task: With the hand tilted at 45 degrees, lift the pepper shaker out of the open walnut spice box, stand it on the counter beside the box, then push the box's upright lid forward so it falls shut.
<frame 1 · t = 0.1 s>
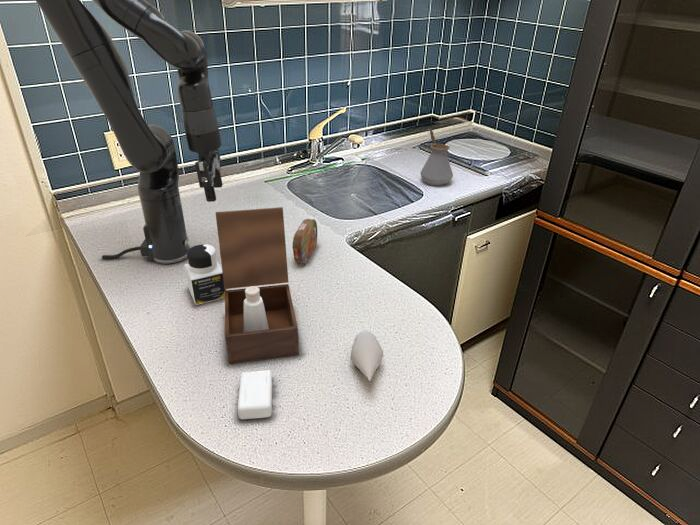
hand: (215, 193, 121), 17 cm above the countertop, tool pointing down, fingers open, 8 cm apart
tin: (305, 255, 130), on the countertop
pepper shaker: (256, 334, 101), point 1 cm above the countertop
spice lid: (253, 248, 102), point 15 cm above the countertop, hinge at 105.0°
spice box: (261, 334, 102), on the countertop
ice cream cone: (367, 370, 93), on the countertop
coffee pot: (432, 177, 181), on the countertop
medicine bottle: (207, 294, 114), on the countertop
soap: (256, 400, 86), on the countertop
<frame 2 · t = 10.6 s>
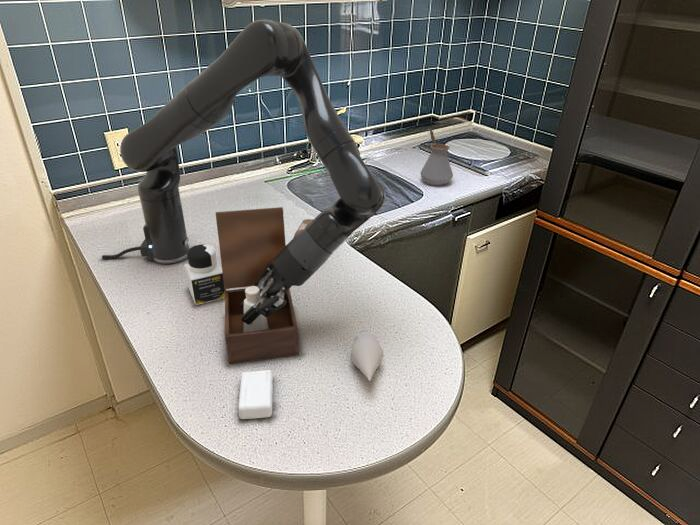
hand: (244, 314, 98), 6 cm above the countertop, tool tilted 45°, fingers closed on pepper shaker, 4 cm apart
pepper shaker: (256, 334, 101), point 1 cm above the countertop, touching gripper, spice box
everything else where it was.
when the fingers open (5 cm above the countertop, at t = 19.0 s): pepper shaker stays where it is, on the countertop.
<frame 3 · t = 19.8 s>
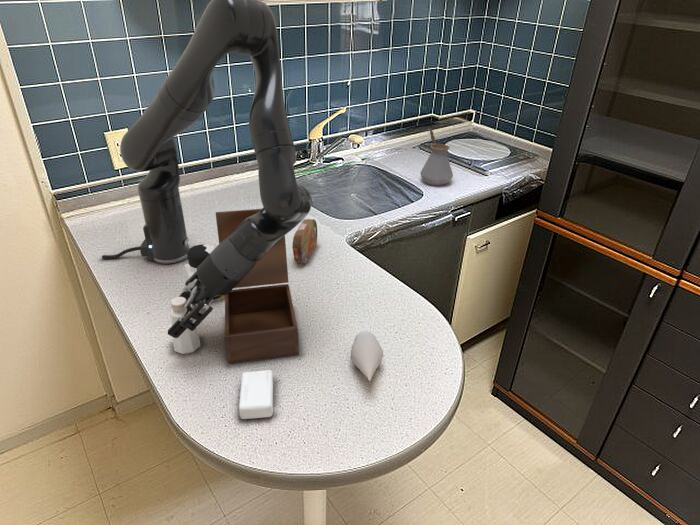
hand: (173, 321, 95), 6 cm above the countertop, tool tilted 45°, fingers open, 8 cm apart
pepper shaker: (187, 346, 98), on the countertop
everything else where it was.
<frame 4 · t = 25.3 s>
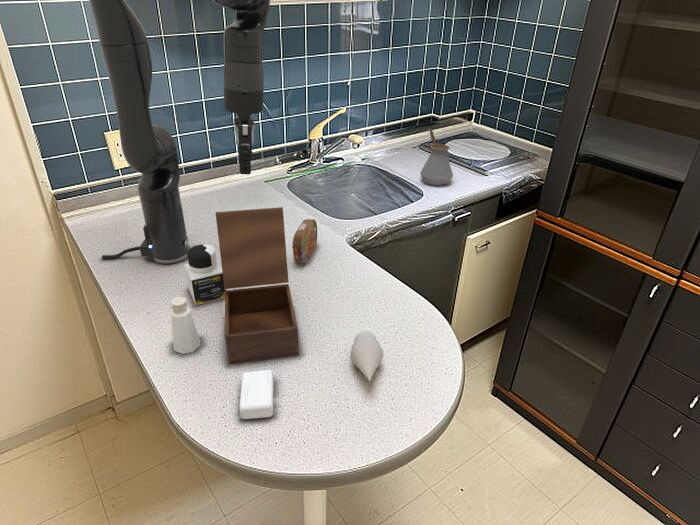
hand: (244, 166, 103), 29 cm above the countertop, tool pointing down, fingers open, 8 cm apart
nothing on the countertop moved.
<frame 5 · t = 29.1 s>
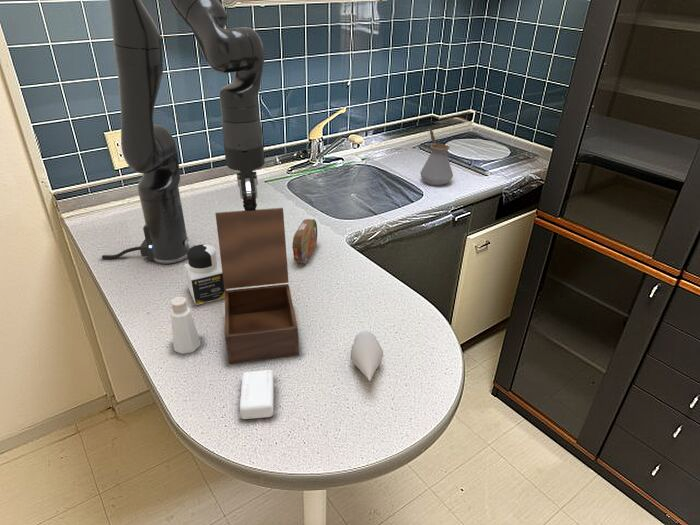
hand: (251, 222, 104), 19 cm above the countertop, tool pointing down, fingers closed
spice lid: (253, 248, 102), point 15 cm above the countertop, hinge at 102.7°
everything else where it was.
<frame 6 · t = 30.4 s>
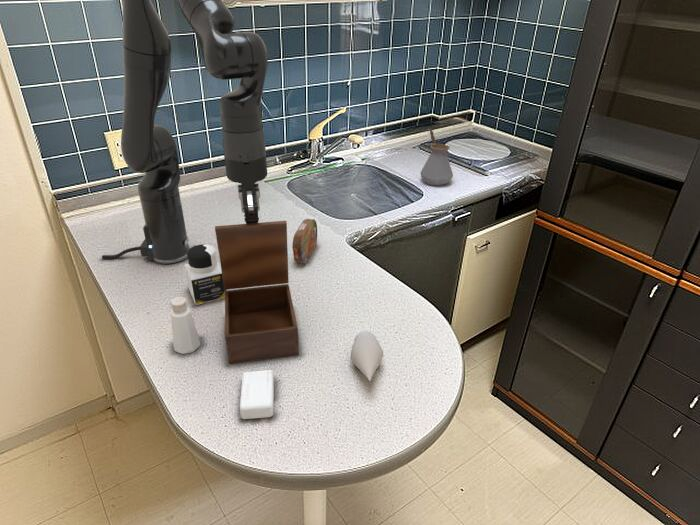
hand: (253, 236, 99), 19 cm above the countertop, tool pointing down, fingers closed
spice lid: (254, 256, 99), point 15 cm above the countertop, hinge at 79.0°
everything else where it was.
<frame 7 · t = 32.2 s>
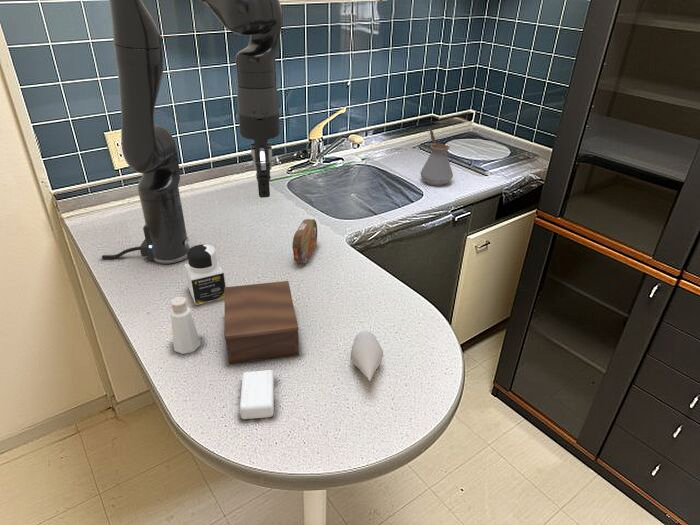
hand: (264, 196, 101), 25 cm above the countertop, tool pointing down, fingers closed
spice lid: (259, 307, 98), point 7 cm above the countertop, hinge at -0.1°
everything else where it was.
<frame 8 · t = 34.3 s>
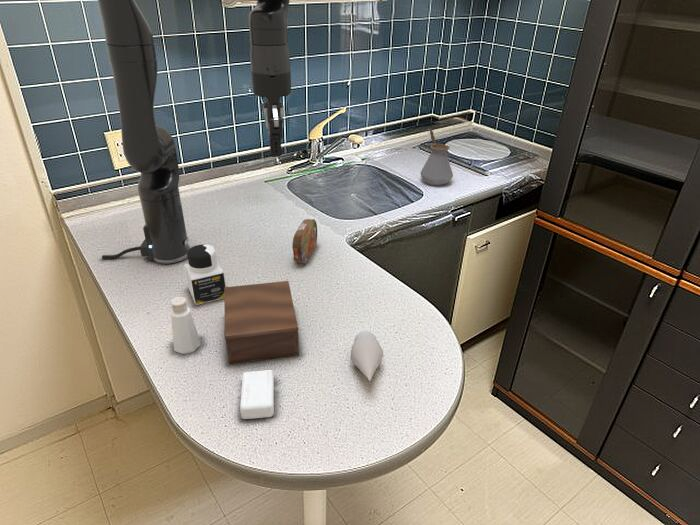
hand: (276, 155, 104), 31 cm above the countertop, tool pointing down, fingers closed
nothing on the countertop moved.
at the end: pepper shaker inside the target area (0.2 cm from its centre), on the countertop; pepper shaker tilted 0°; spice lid at +0° (first picture: +105°) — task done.
